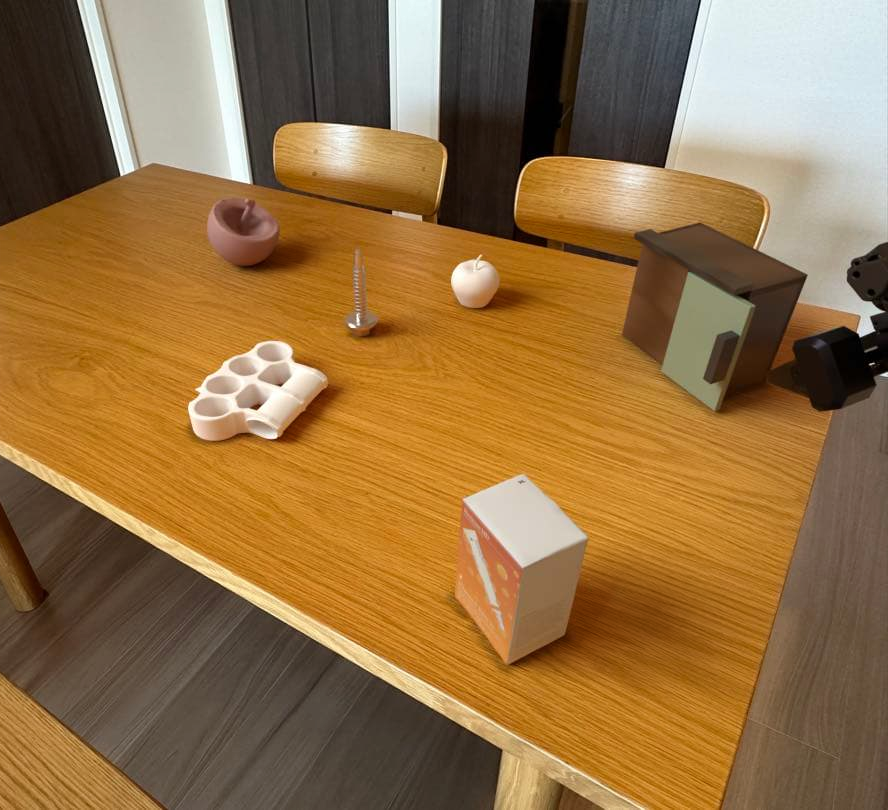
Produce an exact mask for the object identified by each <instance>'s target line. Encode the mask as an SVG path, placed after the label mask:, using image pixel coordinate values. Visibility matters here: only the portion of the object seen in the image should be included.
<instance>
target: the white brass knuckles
mask: <svg viewBox="0 0 888 810" xmlns="http://www.w3.org/2000/svg"><path fill="white" fill-rule="evenodd" d="M328 384H329V379H328V377H327V375H325V374H324V373H323V372H321V370H319V369H316V368H314V367H310V366H308V365H304V364H302V363H298V362H296V360H295V351H294V349H293V348H292V346H291V345H289V344H288V343H286V342H283V341H280V340H267V341H262V342H259V343H257V344H255V346H254V347H253V348H252V349H251V350H248V352H245V353H242V354H238V355H234V356H232V357H230V358H229V359H226V360H225V361H223V363H222V366H221V367H220V368H218V370H217V371H215V372H214V373H211V374H209V375H207V376H206V377H205V379H204V381H203V382H202V384H201V385H200V386H199V387H197V388H195V389H194V390H195V391H196V392H198V393H199V395H197V397H196V398H194V399H193V400H191V401H190V402H189V403H188V407H187V409H188V410H187V411H188V416H189V418H190V422H191V426H192V430H193V432H194V434H195V435H196V436H197V437H198V438H199V439H202V440H204V441H208V442H209V441H210V442H218V441H225V440H227V439H230V438H233V437H234V436H236V435H238V434H245V433H247V434H248V433H249V434H252V435H255V436H258V437H261V438H263V439H267V440H275V439H277V438H280V437H281V436H282V435H283V434H284V431H286V429H287V428H288V427H289V426H290V425H291V424H292V423H293V422H294V421H295V420H296V418H297V417H299V415H301V413H304V412H305V411H306V410H307V407H308V406H309V405H310V404H311V403H312V401H313V400H315V398H316V397H318V395H319V394H320V393H321V392H322V390H325V389H326V388H328ZM279 385H282V386H279ZM256 405H261V406H260V407H259V408H258V409H257V410H256V409H253V407H254V406H256Z"/></svg>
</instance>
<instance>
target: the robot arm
mask: <svg viewBox="0 0 888 810" xmlns="http://www.w3.org/2000/svg"><path fill="white" fill-rule="evenodd" d="M846 282H847V284H848V285H849V286H850V287H851V288H852V290H853V291H854V292H855V294H856V295H857V296H858V297H859V298H860V300H861V301H863V302H869V303H870V302H871V304H872V305H873V306H874V307H875V308H876V309H878V310H879V311H882V312H878V313H875V314H873V315H870V316H869V319H870V322H871V324H872V328H873V331H871V332H869V333H867V334H864V335H862V336H860V334H859V333H858V332H856V331H854V330H852V329H851V328H849V327H848V326H845V325H842V326H841V325H840V326H837V327H834V328H833V327H832V328H829V329H826V330H823V331H819V332H815V333H813V334H810V335H806V336H803V337H802V338H798V339H796V340H794V342H793V344H792V348H791V351H792V353H793V356H794V358H793V359H791V360H789V361H786V362H784V363H783V364H780V365H779V366H777V367H775V368H771V370H770V371H768V372H766V377H767V380H766V381H767V383H768V384H769V385H772V386H774V387H778V388H780V389H783V390H786V391H789V392H792V393H795V394H797V395H800V396H803V397H805V398H807V399H809V402H810V406H811V407H812V409H814V410H816V411H817V412H819V413H822V412H830V411H836V410H843V409H845V408H847V407H849V406H853V405H855V404H857V403H860V402H862V401H865V400H867V399H870V398H871V396H872V394H873V393H874V391H875V389H876V388H877V382H876V379H875V378H876V377H879V376H882V375H884V374H886V373H888V241H886V242H883V243H879V244H878V245H877V246H875V247H873V249H871V250H870V251H869V252H867V253H866V254H864V255H861V256H858V257H854V258H852V260H851V261H850V267H848V268H847V270H846Z"/></svg>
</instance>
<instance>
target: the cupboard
mask: <svg viewBox="0 0 888 810" xmlns="http://www.w3.org/2000/svg"><path fill="white" fill-rule="evenodd" d="M633 239H634V240H635V241H637V242H639V243H640V244H641V248H640V251H639V257H638V261H637V264H636V265H637V266H636V269H635V275H634V279H633V284H632V288H631V292H630V297H629V301H628V305H627V310H626V314H625V319H624V323H623V328H622V333H621V336H623V338H625V339H626V340H628V341H629V342H631V343H632V344H633V345H634V346H636V347H638V348H639V349H640V350H642V351H643V352H645V354H647V355H648V356H650V357H651V358H653V359H654V360H655V361H656V362H658V363H659V364H661V366H663V362H664V358H665V355H666V351H667V348H668V344H669V340H670V337H671V333H672V329H673V326H674V322H675V319H676V315H677V311H678V308H679V304H680V300H681V297H682V293H683V289H684V286H685V282H686V279H687V275H688V272H691V271H692V272H694V273H695V274H697V275H699V276H701V277H702V278H704V279H706V280H708V281H710V282H711V283H713V284H715V285H717V286H718V287H720V288H722V289H724V290H726V291H727V292H729V293H731V294H733V295H738V296H739V297H741V298H743V299H745V300H746V301H748V302H750V303H752V304H754V305H755V306H756V308H755V311H754V313H753V316H752V319H751V322H750V325H749V328H748V330H747V333H746V336H745V339H744V342H743V344H742V347H741V350H740V353H739V356H738V359H737V361H736V364H735V367H734V370H733V373H732V376H731V378H730V381H729V384H728V387H727V390H726V392H725V395H724V398H727V397H729V396H733V395H736V394H738V393H742V392H744V391H747V390H751V389H753V388H757V387H760V386H763V385H766V382H767V381H768V380H767V377H766V372H768V371H770V370H772V367H773V364H774V362H775V359H776V357H777V354H778V352H779V350H780V347H781V344H782V341H783V339H784V336H785V334H786V331H787V329H788V327H789V325H790V322H791V319H792V317H793V314H794V311H795V309H796V307H797V304H798V301H799V298H800V296H801V293H802V291H803V288H804V286H805V284H806V281H807V278H808V276H809V274H808V273H806V272H804V271H802V270H800V269H797V268H795V267H793V266H792V265H789V264H787V263H785V262H783V261H781V260H779V259H777V258H775V257H773V256H770V255H768V254H767V253H765V252H762V251H760V250H758V249H756V248H754V247H752V246H750V245H748V244H746V243H744V242H742V241H740V240H737V239H736V238H733V237H731V236H729V235H727V234H725V233H723V232H721V231H719V230H718V229H715V228H713V227H711V226H709V225H707V224H705V223H703V222H696V223H692V224H688V225H683V226H681V227H676V228H671V229H668V230H663V231H660V232H657V231H656V230H653V229H651V228H648V229H645V230H641V231H636V232H634V235H633Z"/></svg>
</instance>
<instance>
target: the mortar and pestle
mask: <svg viewBox="0 0 888 810" xmlns="http://www.w3.org/2000/svg"><path fill="white" fill-rule="evenodd" d="M206 231H207V238H208V241H209V243H210V246H211V247H212V249H213V250H214V252H215V253H216V254H217V255H218V256H219V257H220V258H221V259H223V260H224V261H226V262H228V263H230V264H231V265H235V266H241V267H249V266H254V265H257V264H259V263H261V262H263V261H265V260H266V259H267V258H268V257H269V256H270V255H272V253H273V252H274V250H275V249H276V247H277V245H278V242H279V238H280V223H279V222H278V220H277V219H276V218H275V217H274V215H273V214H272V213H270V212H269V211H268V210H267V209H266V208H264V207H263V206H261V205H259V204H257V203H256V200H255V199H253V198H247V197H245V198H241V197H227V198H222V199H219V200H218V201H217V202H216V203H215V204H213V206H212V208H211V210H210V212H209V214H208V218H207V222H206Z"/></svg>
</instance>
